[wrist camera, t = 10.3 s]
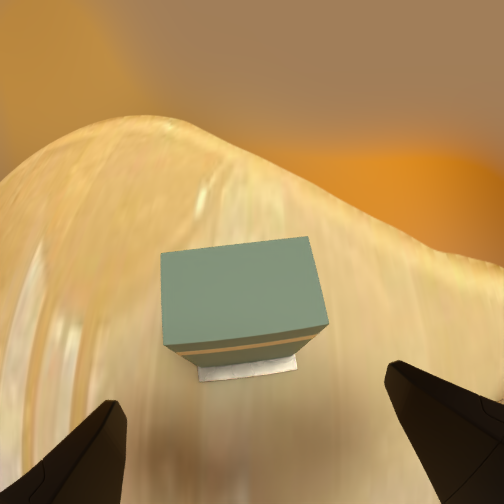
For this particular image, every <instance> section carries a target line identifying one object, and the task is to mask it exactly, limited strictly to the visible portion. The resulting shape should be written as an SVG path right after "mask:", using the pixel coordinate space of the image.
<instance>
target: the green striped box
mask: <svg viewBox="0 0 504 504" xmlns="http://www.w3.org/2000/svg"><path fill="white" fill-rule="evenodd" d="M161 306H162V328H163V345H164V346H166V347H167V348H169V349H171V350H172V351H174V352H175V353H176V354H178V355H180V356H182V357H183V358H185V359H187V360H188V361H190V362H192V363H193V364H195V365H197V366H199V367H200V368H206V367H217V366H226V365H235V364H243V363H251V362H258V361H265V360H272V359H278V358H284V357H290V356H293V355H294V354H295V353H296V352H297V351H299V350H300V349H301V348H302V347H303V346H305V345H306V344H307V343H308V342H309V341H310V340H311V339H313V338H314V337H315V336H316V335H318V333H319V332H321V331H322V330H323V329H324V328H325V327H326V326H327V325H328V324H329V321H328V316H327V312H326V307H325V303H324V299H323V294H322V290H321V286H320V282H319V278H318V273H317V269H316V265H315V261H314V258H313V254H312V250H311V246H310V242H309V238H308V236H306V237H297V238H288V239H279V240H270V241H261V242H252V243H243V244H235V245H226V246H218V247H209V248H200V249H192V250H184V251H175V252H167V253H161Z"/></svg>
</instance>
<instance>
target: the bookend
mask: <svg viewBox="0 0 504 504" xmlns="http://www.w3.org/2000/svg"><path fill="white" fill-rule="evenodd" d="M197 367H198V376H199V382H207V381H218V380H228V379H237V378H245V377H253V376H260V375H267V374H273V373H279V372H285V371H291V370H297V363H296V358H295V354H294V355H293V356H290V357H284V358H278V359H272V360H265V361H258V362H251V363H243V364H235V365H226V366H217V367H206V368H200V367H199V366H197Z"/></svg>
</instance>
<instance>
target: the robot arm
mask: <svg viewBox="0 0 504 504" xmlns="http://www.w3.org/2000/svg"><path fill="white" fill-rule="evenodd" d="M384 384H385V388H386V390H387V392H388V395H389V397H390V400H391V402H392V405H393V407H394V410H395V412H396V415H397V417H398V420H399V422H400V424H401V426H402V427H403V429H404V431H405V433H406V435H407V437H408V439H409V440H410V442H411V444H412V446H413V448H414V450H415V452H416V454H417V456H418V458H419V460H420V462H421V464H422V466H423V468H424V470H425V472H426V474H427V476H428V478H429V480H430V482H431V484H432V486H433V488H434V490H435V492H436V494H437V496H438V498H439V500H440V502H441V504H504V404H501V403H498V402H496V401H493V400H490V399H488V398H485V397H483V396H481V395H480V396H479V395H478V394H476V393H473V392H471V391H469V390H466V389H464V388H462V387H459V386H457V385H455V384H452V383H450V382H448V381H446V380H443V379H441V378H439V377H436V376H434V375H432V374H430V373H427V372H425V371H423V370H421V369H419V368H416V367H414V366H412V365H410V364H408V363H405V362H403V361H401V360H397V361H394V362H391V363H389V365H388V367H387V371H386V375H385V380H384ZM126 434H127V418H126V415H125V413H124V412H123V410H122V408H121V406H120V404H119V402H118V401H116V400H105V401H104V402H103V403H102V404H101V405H100V406H99V407H98V408H96V409H95V410H94V411H93V412H92V413H91V414H90V415H89V416H88V417H87V418H86V419H85V420H84V421H83V422H82V423H80V424H79V425H78V426H77V427H76V428H75V429H74V430H73V431H72V432H71V433H70V434H69V435H68V436H67V437H66V438H64V439H63V440H62V441H61V442H60V443H59V444H58V445H57V446H56V447H55V448H54V449H53V450H52V451H51V452H49V453H48V454H47V455H46V456H45V457H44V458H43V460H41V461H40V462H39V463H38V464H36V465H35V466H34V467H33V468H32V469H31V470H30V471H28V472H27V473H26V474H25V475H24V476H22V477H21V478H20V479H18V480H17V481H16V482H14V483H13V484H12V485H10V486H9V487H7V488H6V489H5V490H3V491H2V492H0V504H120V500H121V491H122V483H123V475H124V468H125V460H126Z"/></svg>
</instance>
